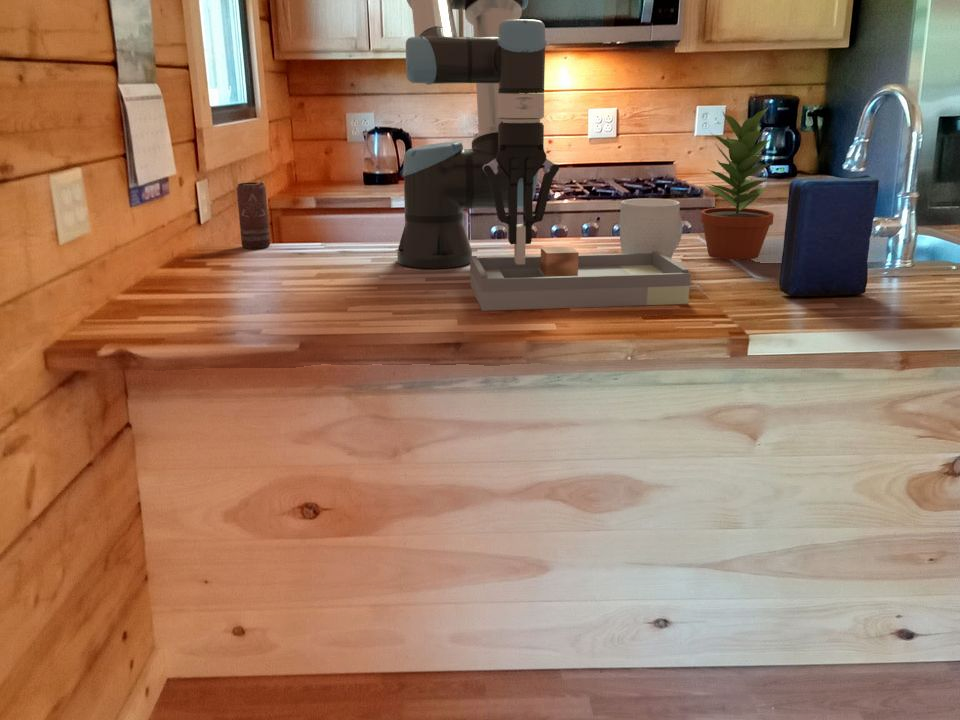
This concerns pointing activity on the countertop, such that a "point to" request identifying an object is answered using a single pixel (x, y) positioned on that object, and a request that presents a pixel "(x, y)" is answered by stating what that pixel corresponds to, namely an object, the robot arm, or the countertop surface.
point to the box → (571, 282)
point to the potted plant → (738, 197)
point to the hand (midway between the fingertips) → (519, 262)
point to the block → (559, 261)
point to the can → (253, 215)
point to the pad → (660, 288)
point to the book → (828, 236)
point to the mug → (650, 226)
